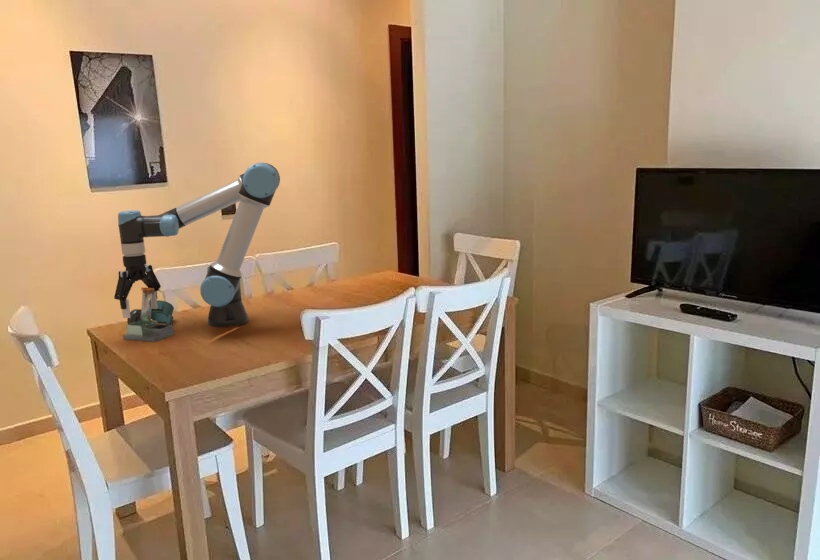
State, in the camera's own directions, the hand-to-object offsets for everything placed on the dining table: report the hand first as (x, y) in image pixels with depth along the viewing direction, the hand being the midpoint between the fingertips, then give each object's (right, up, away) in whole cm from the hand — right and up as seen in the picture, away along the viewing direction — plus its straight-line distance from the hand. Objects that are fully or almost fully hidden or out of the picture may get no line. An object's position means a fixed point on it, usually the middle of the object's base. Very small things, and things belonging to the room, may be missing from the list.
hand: (140, 313), depth 230 cm
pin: (+1, -3, +2) cm, 4 cm away
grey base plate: (+3, -9, +1) cm, 9 cm away
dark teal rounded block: (+1, -2, +22) cm, 23 cm away
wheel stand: (-4, -7, +9) cm, 12 cm away
